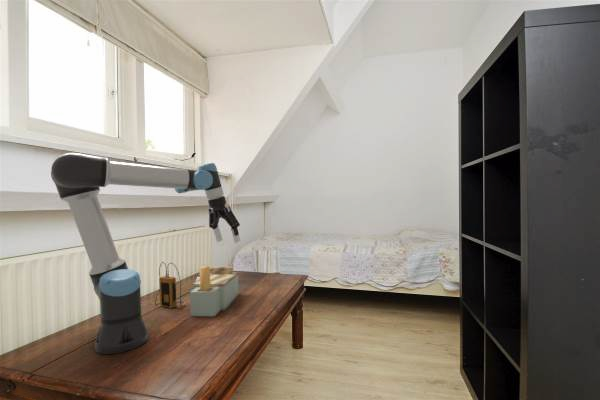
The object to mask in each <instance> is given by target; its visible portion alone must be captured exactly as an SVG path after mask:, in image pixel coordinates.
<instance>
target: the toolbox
mask: <svg viewBox="0 0 600 400" xmlns="http://www.w3.org/2000/svg"><path fill="white" fill-rule="evenodd" d="M238 296H239V274H238V275H236V276H235V277H234V278H233V279H232V280H231V281H230V282H228V283H227V284H226V285H225V286H210V291H200V286H193V285H192V289H191V291H190V292H189V306H190V310H189V311H190V317H216V315H218V313H219V312H220V311H224V310H227V309H228V307H229V306H231V304H232V303H233V301H235V299H236V298H237V297H238Z"/></svg>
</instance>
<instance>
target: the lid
mask: <svg viewBox="0 0 600 400" xmlns="http://www.w3.org/2000/svg"><path fill="white" fill-rule="evenodd" d="M233 268H234V267H233V266H212V267H211V268H210V286H225V285H226V284H227V283H228V282H230V281H231V280H232V279H233V278H234V277H235V276H236V275H238V276H239V271H233V270H234V269H233ZM193 286H200V278H199V279H197V280H196V281H194V282H193V283H192V287H193Z"/></svg>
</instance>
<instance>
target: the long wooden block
mask: <svg viewBox="0 0 600 400" xmlns="http://www.w3.org/2000/svg"><path fill="white" fill-rule="evenodd" d="M210 272H211V268H210V266H209V265H208V266H206V265H205V266H200V267H199V279H200V291H210Z"/></svg>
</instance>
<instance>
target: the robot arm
mask: <svg viewBox="0 0 600 400" xmlns="http://www.w3.org/2000/svg"><path fill="white" fill-rule="evenodd" d="M50 176H51V179H52V182H53V183H54V184H55V188H56V190H57V192H58V195H59V198H60V199H61V201H63V202H66V203H67V204H68V207H69V209H70V211H71V214H72V217H73V220H74V221H75V225H76V227H77V230H78V232H79V235H80V238H81V240H82V241H81V242H82V244H83V247H84V249H85V252H86V255H87V257H88V259H89V262H90V265H91V269H90V270H89V272H88V275H89V276H90V280H91V283H92V285H93V290H94V292H95V295H96V296H97V297H98V300H99V306H100V308H99V309H100V327H99V329H98V332H97V334H96V339H95V340H94V341H95V343H94V346H95V347H94V350H95V352H96V353H98V354H100V355H101V354H102V355H113V354H121V353H124V352H128V351H132V350H133V349H136V348H138V347H139V346H142V345H144V343H146V341H147V340H148V338H149V337H148V334H149V333H148V329H147V327H146V324H145V321H144V319H143V317H142V301H141V298H142V297H141V296H142V295H141V284H142V283H141V282H142V281H141V277H140V273H139V272H138V271H136V270H134V269H129V268H128V265H127V261H126V260H125V259H123V258H120V256H119V254H118V251H117V249H116V244H115V243H114V240H113V237H112V233H111V231H110V228H109V225H108V224H107V220H106V218H105V214H104V211H103V209H102V206H101V203H100V201H99V200H100V199H99V197H98V195H99V193H100V192H101V189H100V187H101V188H105V187H107V186H108V185H109V186H110V185H115V186H116V185H117V186H132V187H145V188H146V187H148V188H149V187H150V188H151V187H152V188H163V189H174V191H175V192H176V193H177V194H183V193H188V192H192V191H204V192H205V196H206V199H207V203H208V206H209V208H208V213H209V214H208V215H209V217H208V225H209V226H208V227H209V228H211V229H212V230H213V233H214V236H215V240H216V243H219V242H222V241H223V237H222V234H221V230H220V227H219V222H220V219H221V218H222V219H223V220H224V221H225V222H226V223H227V224H228V225H229V227H230V231H231V234H232V238H233V241H234V244H237V243H239V242H241V238H240V234H239V230H238V229H239V228H238V227H240V225H241V224H240V222H239V221H238V219H237V218H236V216H235V214H234V212H233V211H232V208H231V206H225V205H226V204H227V200H226V197H225V195H224V190H223V187H222V183H221V180H220V179H221V178H220V175H219V171H218V168H217V165H216V164H215V162H210V163H205V164H201V165H199V166H198V170H197V169H184V168H177V167H167V166H157V165H147V164H139V163H129V162H128V163H127V162H119V161H112V160H110V159H108V157H101V156H97V155H96V156H95V155H89V154H83V153H76V152H69V153H65V154H61V155H60V156H58V157H56V159H54V161H53V163H52V164H51V170H50Z"/></svg>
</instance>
